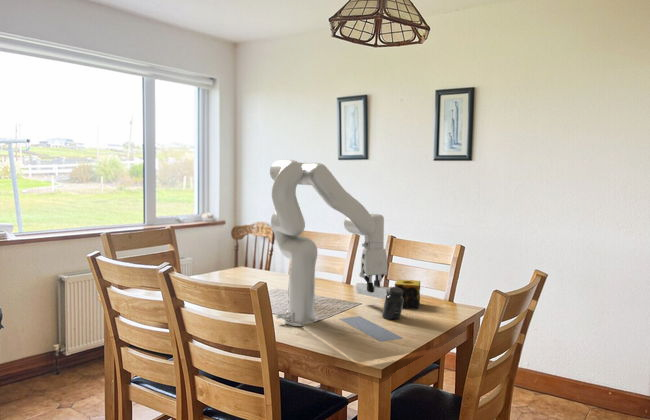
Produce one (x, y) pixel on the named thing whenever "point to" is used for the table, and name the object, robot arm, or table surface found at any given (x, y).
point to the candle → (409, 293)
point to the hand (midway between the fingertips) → (373, 291)
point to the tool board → (371, 328)
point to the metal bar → (377, 290)
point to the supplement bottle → (393, 304)
